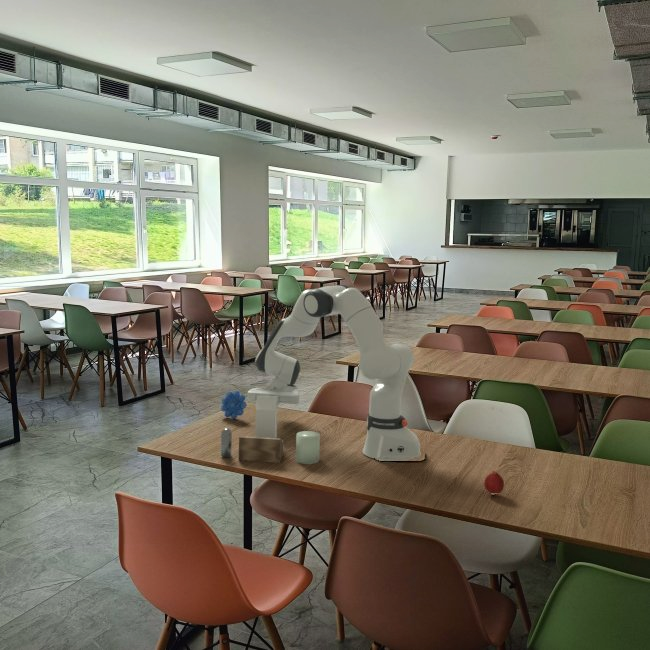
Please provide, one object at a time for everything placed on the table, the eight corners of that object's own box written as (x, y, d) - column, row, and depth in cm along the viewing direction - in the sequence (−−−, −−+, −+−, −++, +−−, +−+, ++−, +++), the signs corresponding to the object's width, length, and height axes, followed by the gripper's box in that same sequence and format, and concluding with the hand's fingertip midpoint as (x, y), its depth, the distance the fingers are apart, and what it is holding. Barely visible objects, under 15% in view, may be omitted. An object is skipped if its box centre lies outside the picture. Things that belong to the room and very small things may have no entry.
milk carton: (274, 451, 228) (276, 399, 225) (254, 450, 228) (255, 398, 225) (276, 444, 235) (277, 394, 232) (256, 443, 235) (258, 393, 232)
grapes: (250, 418, 266) (251, 389, 264) (243, 422, 260) (243, 393, 258) (226, 414, 270) (226, 386, 268) (218, 418, 264) (218, 389, 262)
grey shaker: (232, 454, 223) (232, 427, 222) (230, 458, 219) (230, 430, 218) (222, 453, 223) (222, 426, 222) (219, 457, 220) (220, 429, 218)
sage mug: (313, 452, 228) (314, 428, 227) (321, 463, 218) (322, 437, 217) (291, 454, 226) (292, 429, 225) (298, 464, 216) (299, 439, 214)
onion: (488, 490, 201) (490, 465, 200) (506, 495, 197) (508, 470, 196) (480, 495, 196) (482, 470, 195) (497, 500, 193) (500, 475, 191)
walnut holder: (283, 453, 226) (283, 431, 225) (279, 462, 217) (280, 439, 216) (243, 450, 227) (244, 429, 226) (238, 460, 218) (239, 437, 217)
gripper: (250, 382, 256) (243, 391, 242) (301, 386, 255) (297, 395, 241) (249, 398, 257) (243, 407, 243) (300, 401, 256) (297, 411, 242)
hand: (270, 401), depth 242 cm, fingers closed
